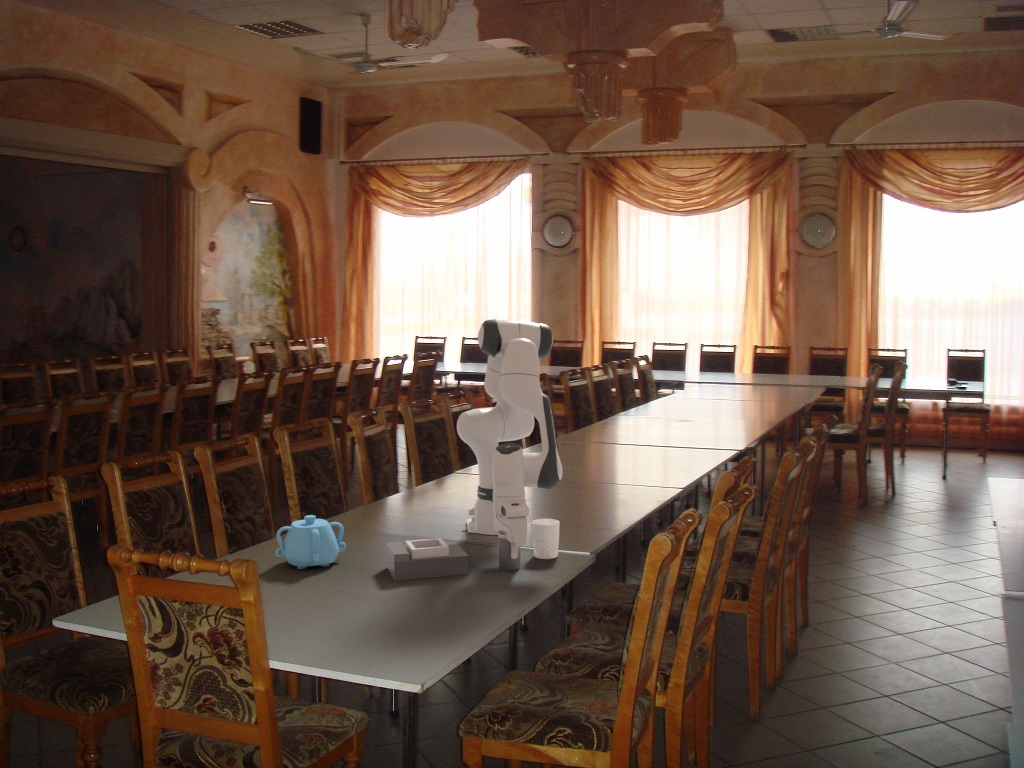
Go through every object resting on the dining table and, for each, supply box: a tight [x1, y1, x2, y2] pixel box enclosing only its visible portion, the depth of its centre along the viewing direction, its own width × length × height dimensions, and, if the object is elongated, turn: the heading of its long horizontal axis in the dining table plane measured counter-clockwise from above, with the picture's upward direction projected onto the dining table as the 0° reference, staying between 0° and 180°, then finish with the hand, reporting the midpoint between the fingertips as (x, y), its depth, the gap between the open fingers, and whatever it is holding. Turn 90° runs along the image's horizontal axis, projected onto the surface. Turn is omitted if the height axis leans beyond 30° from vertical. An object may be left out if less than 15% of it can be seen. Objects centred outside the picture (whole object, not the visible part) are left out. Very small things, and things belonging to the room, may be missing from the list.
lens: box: [497, 530, 522, 572], centre depth 277 cm, size 6×6×10 cm
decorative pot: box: [274, 514, 347, 570], centre depth 283 cm, size 16×16×14 cm
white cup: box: [531, 518, 561, 560], centre depth 288 cm, size 8×8×10 cm
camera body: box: [385, 537, 470, 582], centre depth 275 cm, size 13×20×8 cm, turn 106°
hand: (509, 554), depth 277 cm, fingers open, 6 cm apart
